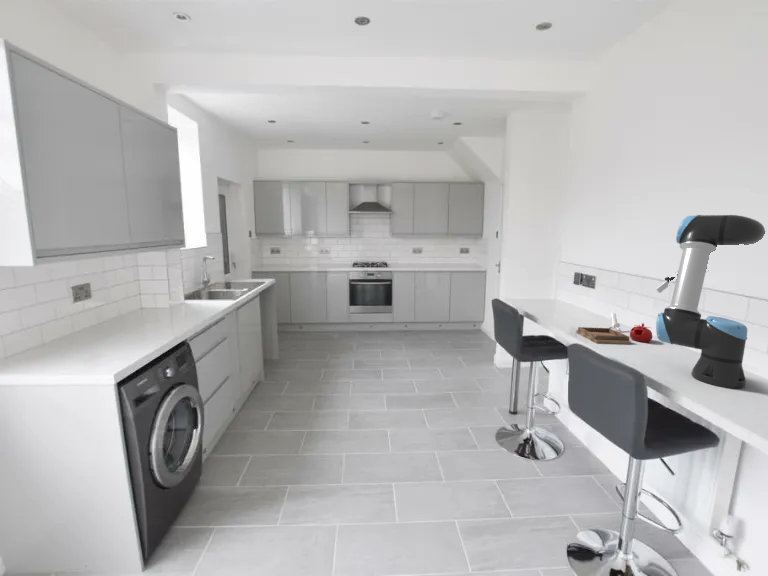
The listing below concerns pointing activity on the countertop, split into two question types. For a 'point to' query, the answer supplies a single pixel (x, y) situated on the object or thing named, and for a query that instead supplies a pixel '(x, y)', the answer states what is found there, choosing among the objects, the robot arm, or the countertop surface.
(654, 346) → the countertop surface
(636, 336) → the pomegranate
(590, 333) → the tray
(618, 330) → the hook
